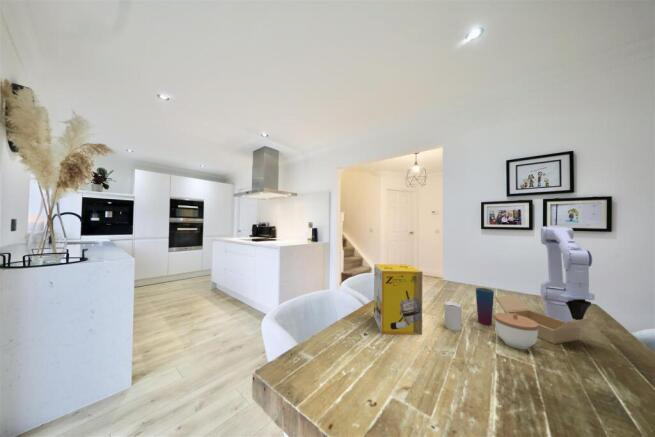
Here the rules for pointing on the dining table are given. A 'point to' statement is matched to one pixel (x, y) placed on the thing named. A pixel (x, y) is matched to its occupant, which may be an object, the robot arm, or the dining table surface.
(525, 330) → the lidded bowl
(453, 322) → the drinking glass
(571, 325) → the flap
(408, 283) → the packaging box
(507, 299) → the flap
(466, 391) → the dining table surface
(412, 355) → the dining table surface
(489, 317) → the cup
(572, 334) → the carton
